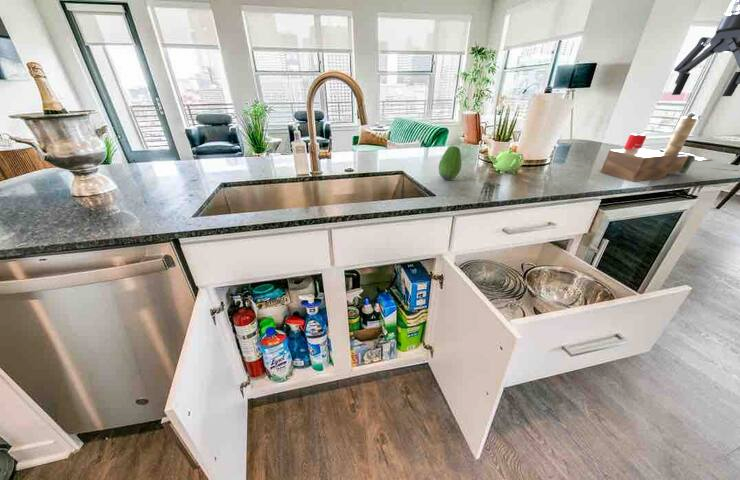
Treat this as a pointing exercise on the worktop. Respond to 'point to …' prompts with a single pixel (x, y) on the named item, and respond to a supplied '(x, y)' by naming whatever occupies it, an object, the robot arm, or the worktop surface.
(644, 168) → the wood grain box
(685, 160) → the drawer
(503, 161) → the green bumpy rounded figure
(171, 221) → the worktop surface
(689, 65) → the robot arm
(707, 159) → the tile
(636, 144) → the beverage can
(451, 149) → the avocado
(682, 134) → the pepper mill
